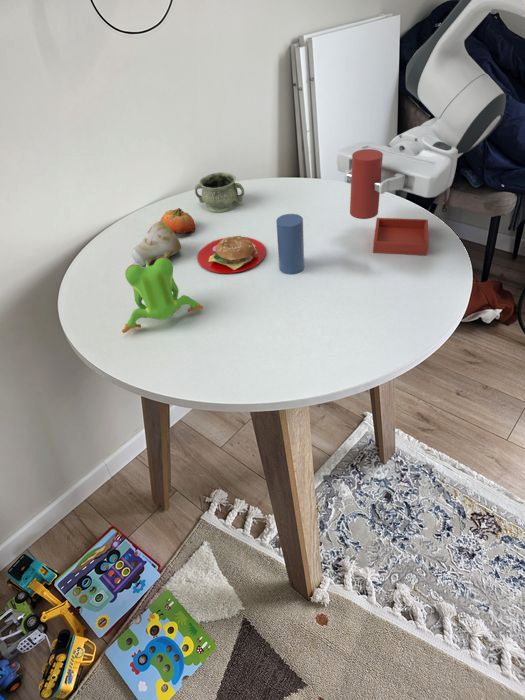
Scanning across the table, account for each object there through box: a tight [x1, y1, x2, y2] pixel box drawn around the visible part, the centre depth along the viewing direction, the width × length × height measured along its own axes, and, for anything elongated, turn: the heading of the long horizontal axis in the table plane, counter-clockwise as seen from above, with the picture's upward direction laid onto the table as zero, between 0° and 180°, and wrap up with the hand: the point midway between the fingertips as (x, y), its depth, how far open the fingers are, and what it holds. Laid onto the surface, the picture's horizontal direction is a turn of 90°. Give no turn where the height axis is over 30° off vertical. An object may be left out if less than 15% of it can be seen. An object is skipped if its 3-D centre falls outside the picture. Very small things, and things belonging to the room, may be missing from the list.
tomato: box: [160, 207, 196, 234], centre depth 108 cm, size 8×7×7 cm
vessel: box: [194, 172, 245, 213], centre depth 115 cm, size 12×9×6 cm
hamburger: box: [197, 235, 267, 274], centre depth 97 cm, size 14×14×6 cm
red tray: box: [372, 217, 429, 256], centre depth 98 cm, size 10×10×2 cm
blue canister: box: [275, 213, 305, 275], centre depth 91 cm, size 5×5×10 cm
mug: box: [130, 220, 182, 267], centre depth 99 cm, size 8×10×10 cm
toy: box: [121, 257, 204, 334], centre depth 83 cm, size 14×9×10 cm, turn 112°
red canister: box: [349, 149, 383, 220], centre depth 81 cm, size 5×5×10 cm
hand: (362, 183), depth 80 cm, fingers closed on red canister, 5 cm apart
